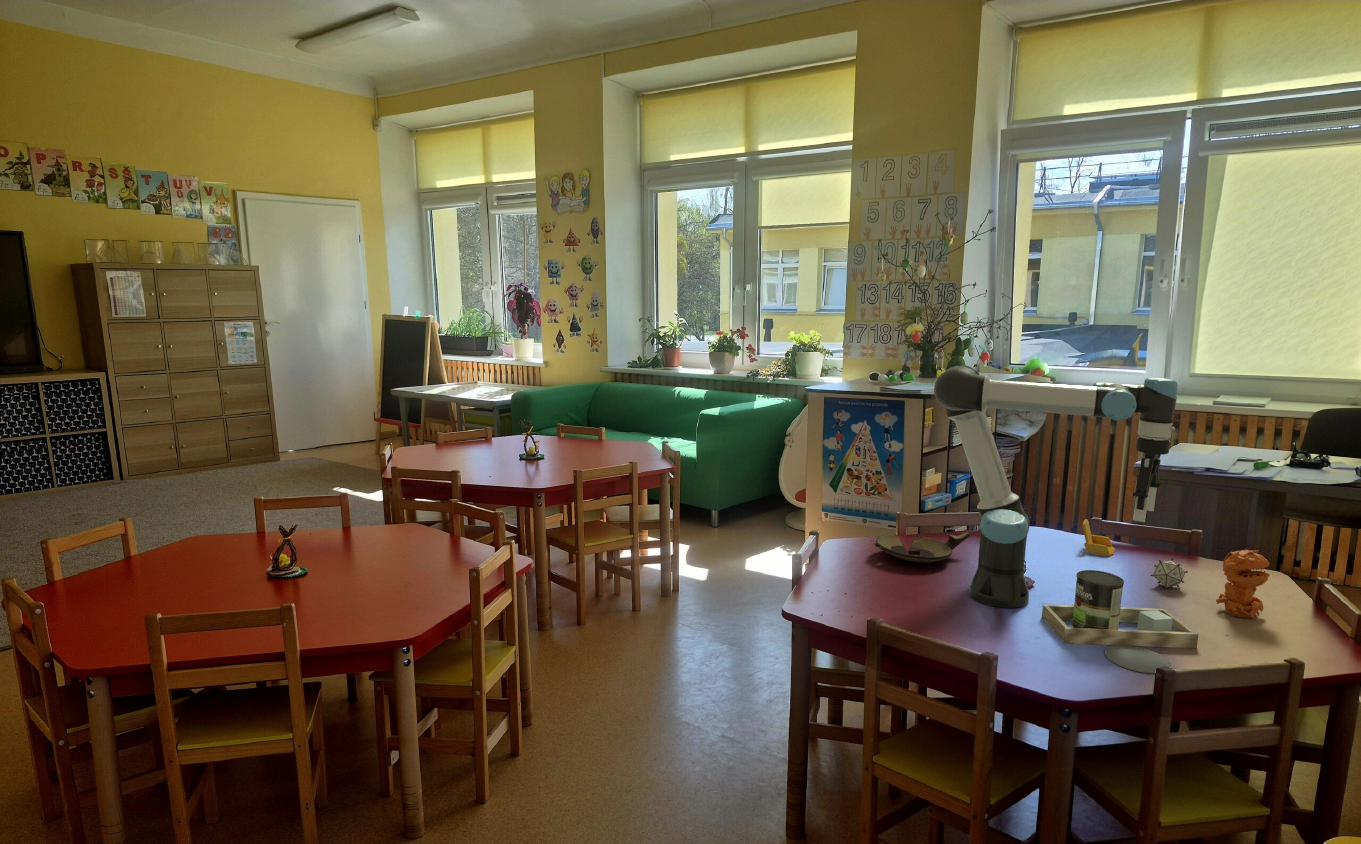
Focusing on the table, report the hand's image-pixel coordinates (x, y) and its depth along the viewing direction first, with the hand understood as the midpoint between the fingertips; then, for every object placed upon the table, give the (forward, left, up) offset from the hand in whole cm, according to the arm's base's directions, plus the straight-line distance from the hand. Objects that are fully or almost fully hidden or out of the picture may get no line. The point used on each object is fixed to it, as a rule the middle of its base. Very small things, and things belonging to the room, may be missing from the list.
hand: (1143, 515), depth 207 cm
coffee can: (-19, -20, -25) cm, 37 cm away
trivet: (-16, -35, -24) cm, 46 cm away
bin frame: (-14, -20, -24) cm, 35 cm away
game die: (+15, +13, -25) cm, 31 cm away
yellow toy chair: (+9, +44, -25) cm, 52 cm away
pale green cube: (-5, -20, -24) cm, 32 cm away
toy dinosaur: (+24, -5, -25) cm, 35 cm away
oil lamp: (-50, +30, -25) cm, 63 cm away
